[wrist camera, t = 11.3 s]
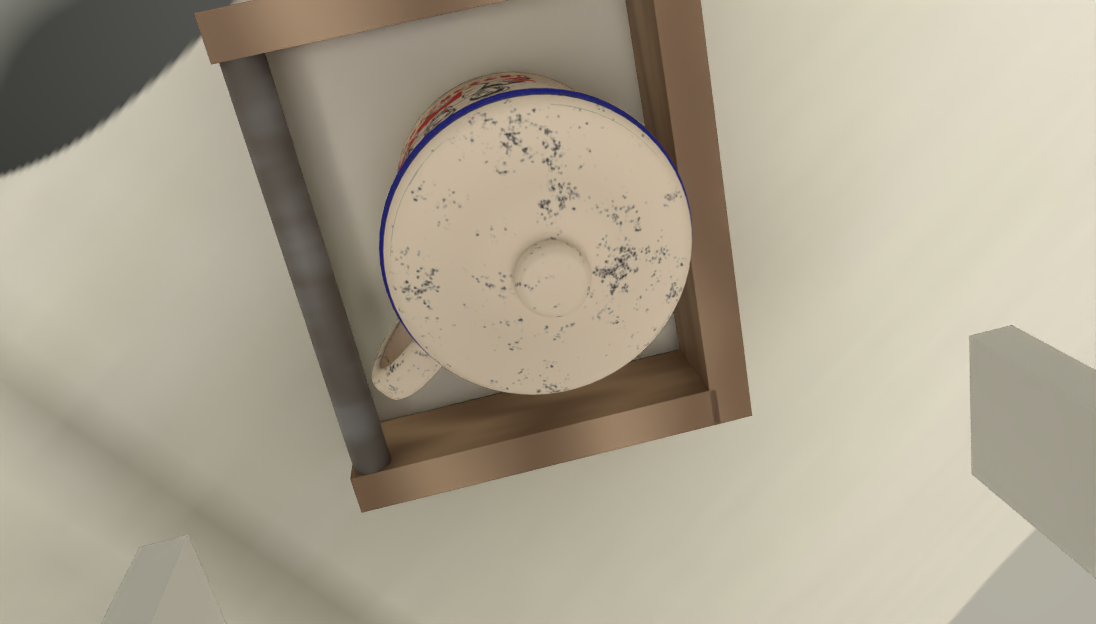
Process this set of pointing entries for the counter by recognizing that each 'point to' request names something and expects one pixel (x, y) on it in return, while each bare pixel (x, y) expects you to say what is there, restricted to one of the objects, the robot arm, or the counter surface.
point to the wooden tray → (506, 418)
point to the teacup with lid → (528, 240)
